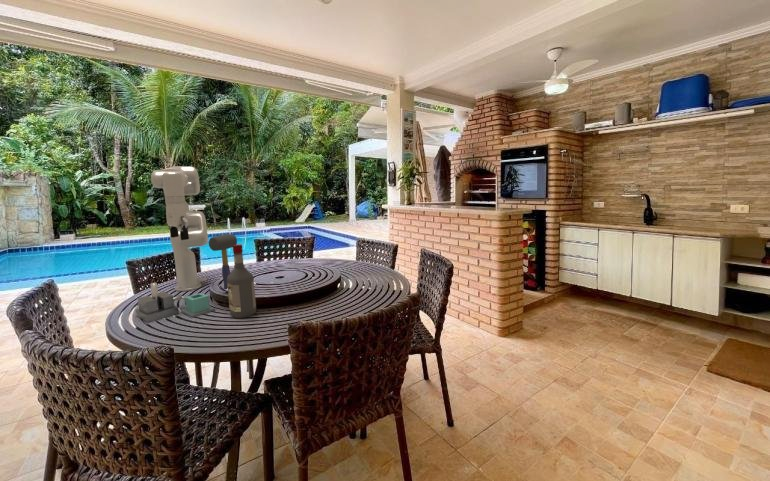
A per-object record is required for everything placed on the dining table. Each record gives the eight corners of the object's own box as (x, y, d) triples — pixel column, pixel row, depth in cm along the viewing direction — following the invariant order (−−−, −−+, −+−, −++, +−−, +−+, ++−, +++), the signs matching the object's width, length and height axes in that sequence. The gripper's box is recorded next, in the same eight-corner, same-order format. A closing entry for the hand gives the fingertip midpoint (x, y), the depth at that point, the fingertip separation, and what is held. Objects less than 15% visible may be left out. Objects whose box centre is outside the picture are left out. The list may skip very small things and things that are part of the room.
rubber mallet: (223, 297, 174) (217, 237, 169) (212, 295, 177) (206, 236, 172) (242, 289, 185) (237, 233, 180) (232, 288, 188) (227, 232, 183)
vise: (178, 304, 164) (174, 275, 162) (190, 310, 157) (186, 279, 154) (136, 316, 151) (132, 284, 149) (147, 322, 144) (143, 289, 141)
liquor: (249, 308, 158) (243, 242, 153) (258, 313, 151) (252, 245, 146) (228, 314, 151) (221, 245, 146) (237, 319, 145) (230, 248, 140)
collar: (202, 305, 160) (200, 292, 159) (210, 308, 155) (208, 295, 154) (186, 310, 154) (184, 297, 153) (193, 313, 150) (192, 300, 149)
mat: (204, 306, 162) (204, 304, 162) (215, 310, 156) (215, 308, 156) (181, 312, 154) (181, 310, 154) (192, 317, 148) (191, 315, 148)
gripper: (157, 199, 158) (162, 237, 161) (175, 202, 148) (180, 242, 151) (175, 198, 164) (179, 234, 167) (193, 200, 154) (197, 239, 157)
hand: (179, 238), depth 159 cm, fingers open, 9 cm apart
